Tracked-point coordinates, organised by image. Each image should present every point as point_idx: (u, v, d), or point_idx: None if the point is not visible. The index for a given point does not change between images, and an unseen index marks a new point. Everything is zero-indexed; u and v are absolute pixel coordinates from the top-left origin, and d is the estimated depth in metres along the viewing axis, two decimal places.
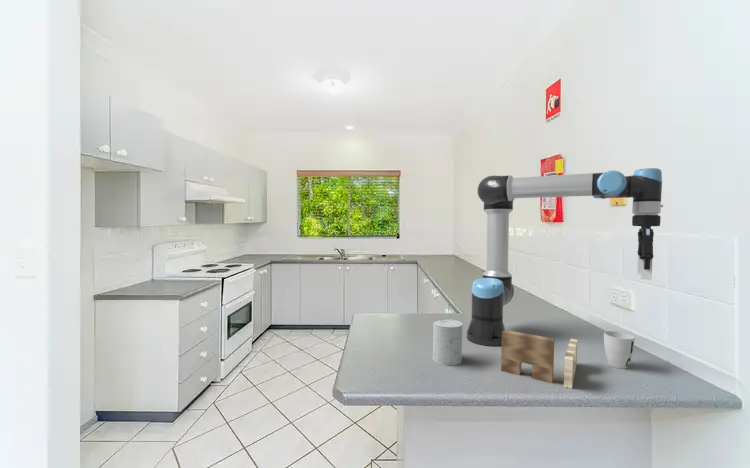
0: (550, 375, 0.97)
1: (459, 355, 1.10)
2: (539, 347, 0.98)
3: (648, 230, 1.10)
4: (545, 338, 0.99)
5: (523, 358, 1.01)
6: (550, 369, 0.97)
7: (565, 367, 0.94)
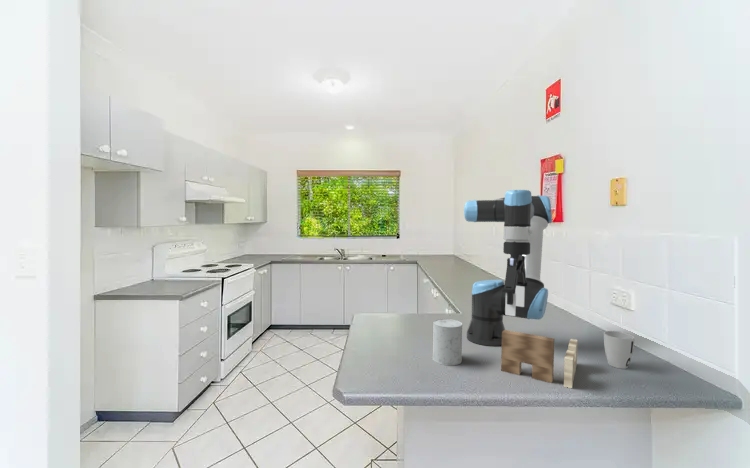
0: (550, 375, 0.97)
1: (459, 355, 1.10)
2: (539, 347, 0.98)
3: (512, 260, 0.98)
4: (545, 338, 0.99)
5: (523, 358, 1.01)
6: (550, 369, 0.97)
7: (565, 367, 0.94)
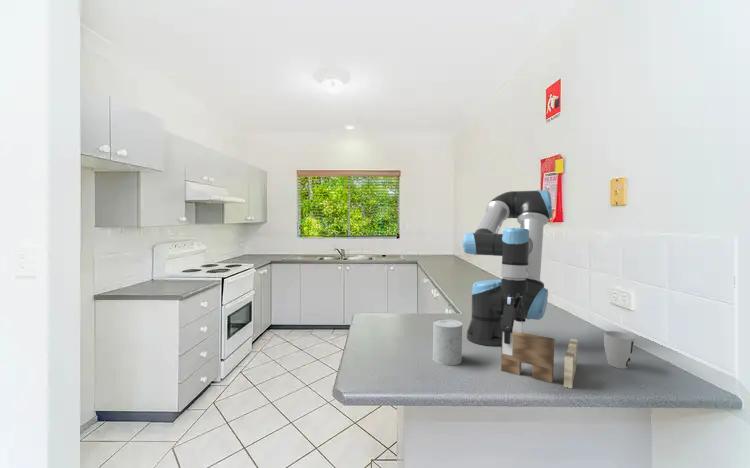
0: (550, 375, 0.97)
1: (459, 355, 1.10)
2: (539, 347, 0.98)
3: (509, 299, 0.98)
4: (545, 338, 0.99)
5: (523, 358, 1.01)
6: (550, 369, 0.97)
7: (565, 367, 0.94)
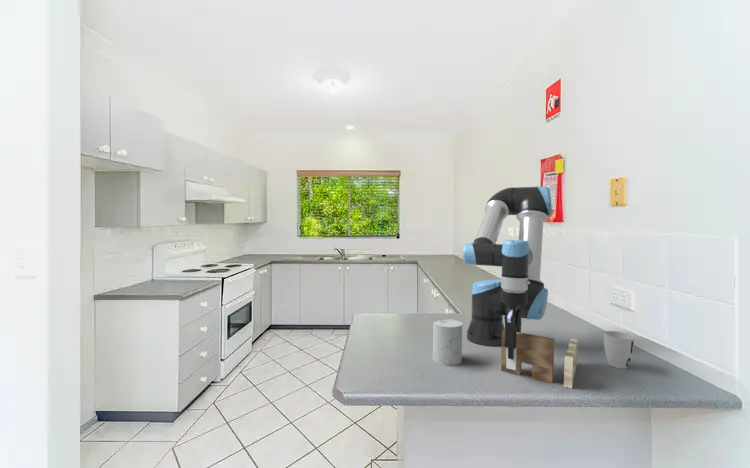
0: (550, 375, 0.97)
1: (459, 355, 1.10)
2: (539, 347, 0.98)
3: (509, 319, 0.98)
4: (545, 338, 0.99)
5: (523, 358, 1.01)
6: (550, 369, 0.97)
7: (565, 367, 0.94)
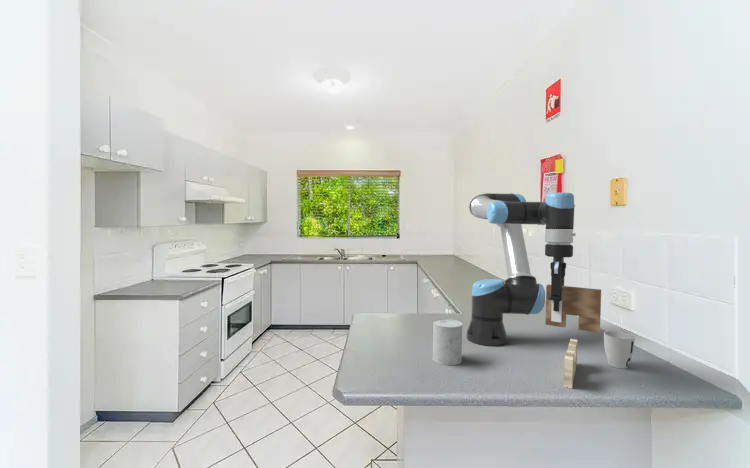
0: (598, 325, 0.97)
1: (459, 355, 1.10)
2: (586, 298, 0.98)
3: (556, 269, 0.98)
4: (592, 289, 0.99)
5: (569, 310, 1.01)
6: (598, 319, 0.97)
7: (565, 367, 0.94)
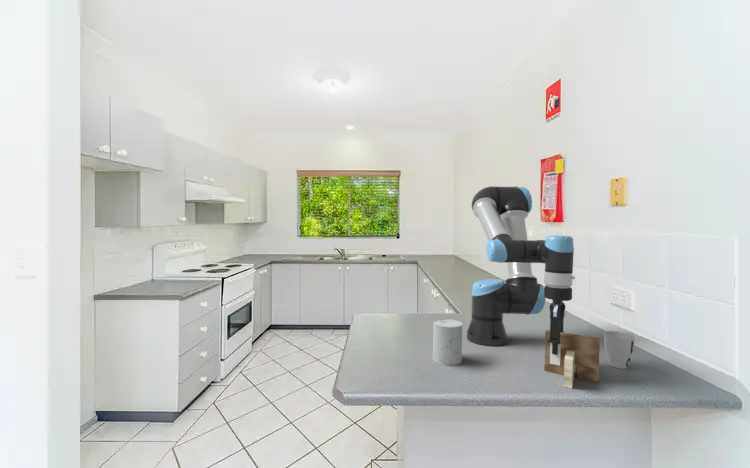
0: (597, 375, 0.97)
1: (459, 355, 1.10)
2: (585, 347, 0.99)
3: (555, 312, 0.99)
4: (591, 338, 1.00)
5: None
6: (597, 369, 0.97)
7: (565, 367, 0.94)
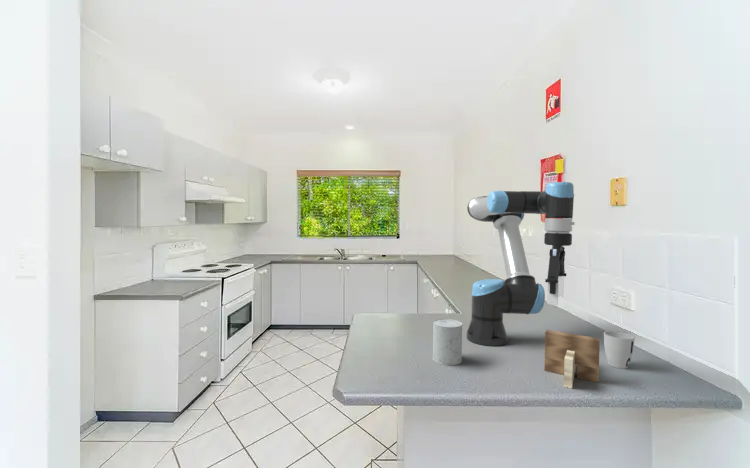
0: (597, 375, 0.97)
1: (459, 355, 1.10)
2: (585, 347, 0.99)
3: (555, 251, 1.00)
4: (591, 338, 1.00)
5: None
6: (597, 369, 0.97)
7: (565, 367, 0.94)
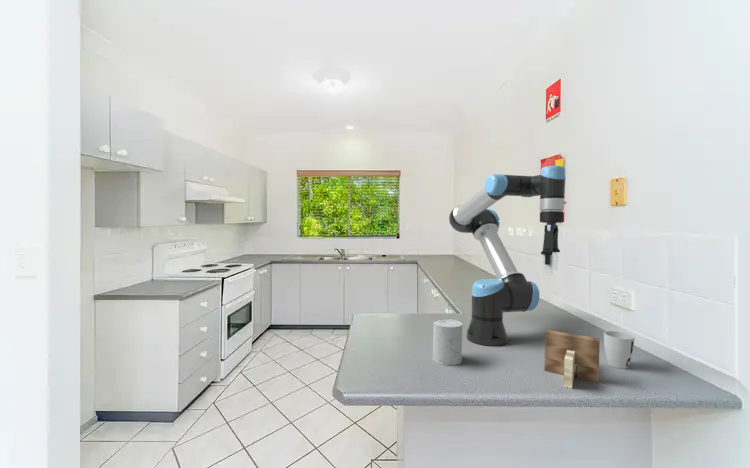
0: (597, 375, 0.97)
1: (459, 355, 1.10)
2: (585, 347, 0.99)
3: (549, 226, 1.12)
4: (591, 338, 1.00)
5: None
6: (597, 369, 0.97)
7: (565, 367, 0.94)
